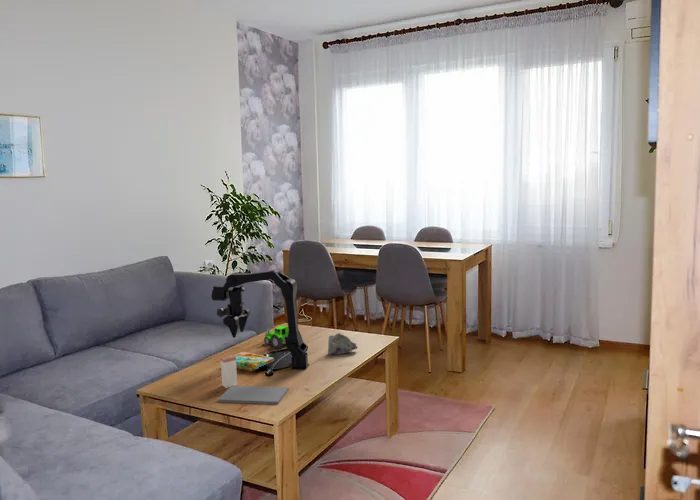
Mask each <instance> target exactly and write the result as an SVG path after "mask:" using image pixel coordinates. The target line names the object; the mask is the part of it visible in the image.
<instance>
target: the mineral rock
mask: <svg viewBox="0 0 700 500" xmlns="http://www.w3.org/2000/svg"><path fill="white" fill-rule="evenodd" d="M327 344H328V346H327V349H328V350H327V353H328V355H329V356H331V355H332V356H334V355H339V354H340V355H341V354H347V353H349V352H352V351H353V350H357V349H358V346H357V343H355V342H353V341H351V338H350V337H348V336H346V335H344V334H342V333H340V332H338V333H335V335H329V336H328V343H327Z"/></svg>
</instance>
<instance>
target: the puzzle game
mask: <svg viewBox="0 0 700 500" xmlns="http://www.w3.org/2000/svg"><path fill="white" fill-rule="evenodd" d="M232 355H233V356H235V357H236V369H239V370H244V371H249V372H254V371H257V370H258V369H260V368H259V367H261V366H263V367H265V366H267V365H268V364H270V363H272V362H274V361H275V358H274V357H270V356H266V355H261V354H256V353H252V352H247V351H240V352H238V353H236V354H232ZM266 364H267V365H266ZM264 365H265V366H264ZM261 368H262V367H261Z"/></svg>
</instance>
